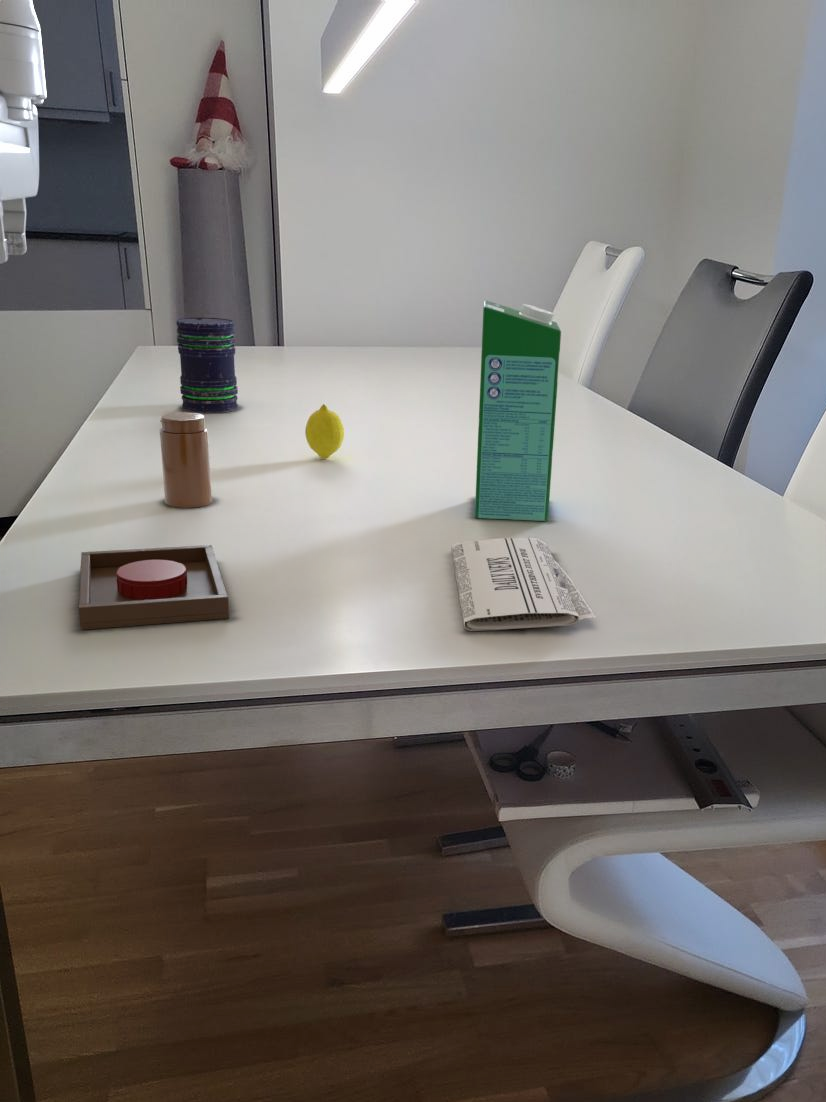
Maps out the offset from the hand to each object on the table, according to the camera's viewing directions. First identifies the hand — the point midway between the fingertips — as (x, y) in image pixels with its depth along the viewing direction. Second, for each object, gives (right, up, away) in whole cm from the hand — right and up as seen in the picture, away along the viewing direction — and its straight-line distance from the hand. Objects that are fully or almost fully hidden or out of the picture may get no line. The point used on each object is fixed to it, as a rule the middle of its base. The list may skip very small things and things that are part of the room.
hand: (5, 258), depth 86 cm
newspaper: (+43, -27, +18) cm, 54 cm away
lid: (+8, -25, +12) cm, 29 cm away
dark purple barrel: (-9, +10, +98) cm, 99 cm away
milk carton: (+43, -15, +45) cm, 65 cm away
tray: (+8, -27, +13) cm, 31 cm away
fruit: (+17, -5, +66) cm, 69 cm away
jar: (+3, -15, +42) cm, 45 cm away
